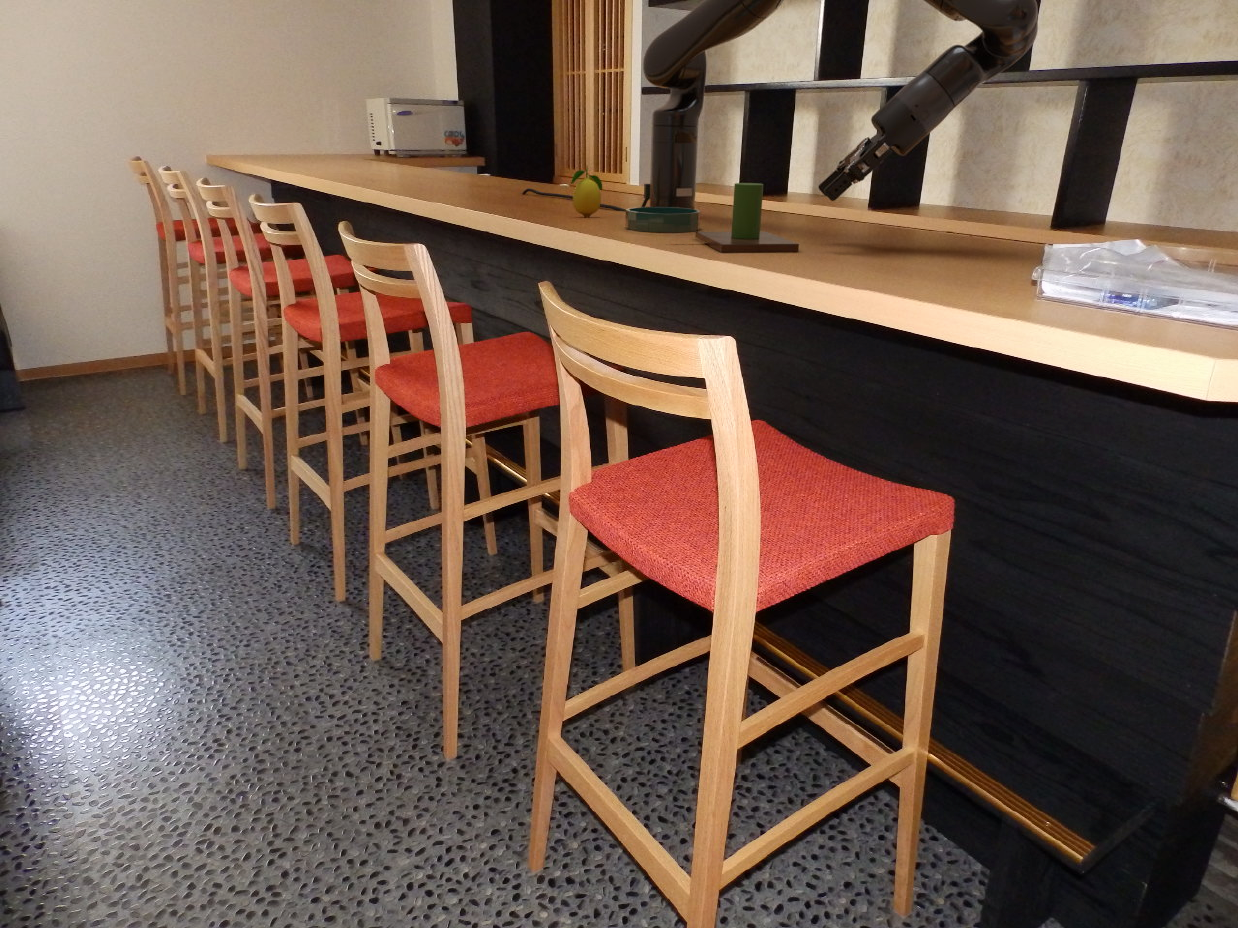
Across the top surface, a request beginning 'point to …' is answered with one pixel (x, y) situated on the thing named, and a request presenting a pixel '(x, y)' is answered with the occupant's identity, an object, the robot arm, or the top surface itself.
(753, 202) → the tall green pillar
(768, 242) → the board
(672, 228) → the bowl
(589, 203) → the lemon
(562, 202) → the top surface
